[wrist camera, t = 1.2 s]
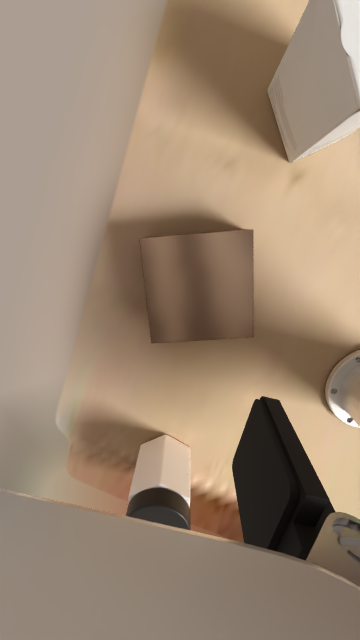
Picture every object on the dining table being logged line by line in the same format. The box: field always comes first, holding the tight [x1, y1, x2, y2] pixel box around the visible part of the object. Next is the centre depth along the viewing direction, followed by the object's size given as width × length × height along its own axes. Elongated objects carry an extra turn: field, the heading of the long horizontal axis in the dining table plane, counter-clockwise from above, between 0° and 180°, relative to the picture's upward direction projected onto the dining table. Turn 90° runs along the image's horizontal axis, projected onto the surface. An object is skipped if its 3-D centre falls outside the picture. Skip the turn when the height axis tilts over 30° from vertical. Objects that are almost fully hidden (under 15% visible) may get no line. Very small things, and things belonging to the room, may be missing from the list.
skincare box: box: [267, 0, 360, 162], centre depth 24 cm, size 8×7×16 cm
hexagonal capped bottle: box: [126, 434, 190, 530], centre depth 41 cm, size 9×8×12 cm
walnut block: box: [140, 229, 254, 343], centre depth 35 cm, size 12×12×6 cm
